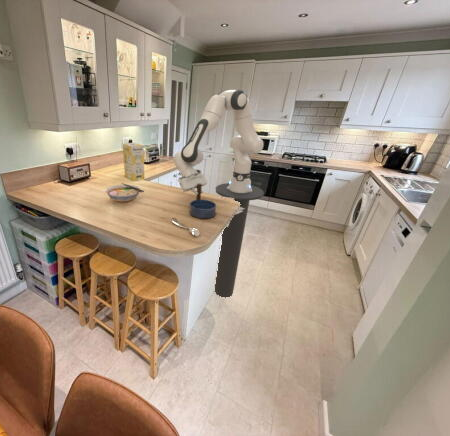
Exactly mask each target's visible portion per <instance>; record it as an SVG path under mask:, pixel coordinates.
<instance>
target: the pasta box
mask: <svg viewBox="0 0 450 436" xmlns="http://www.w3.org/2000/svg"><path fill="white" fill-rule="evenodd" d="M144 151H145V149H144V145H143V144H140V143H137V142H126V143H122V156H123V168H124V177H126V178H128V179H129V180H131V181H133V182H135V181H141V180H145V178H146V177H145V155H144V154H145V152H144Z"/></svg>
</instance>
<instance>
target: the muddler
mask: <svg viewBox="0 0 450 436" xmlns="http://www.w3.org/2000/svg"><path fill="white" fill-rule="evenodd" d="M201 185H202V184H200V183H198V184H197V188H196V191H198V193H199V194H198V195H195V196H196V197H195V200H200V199H201V196H202V193H201Z"/></svg>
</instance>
